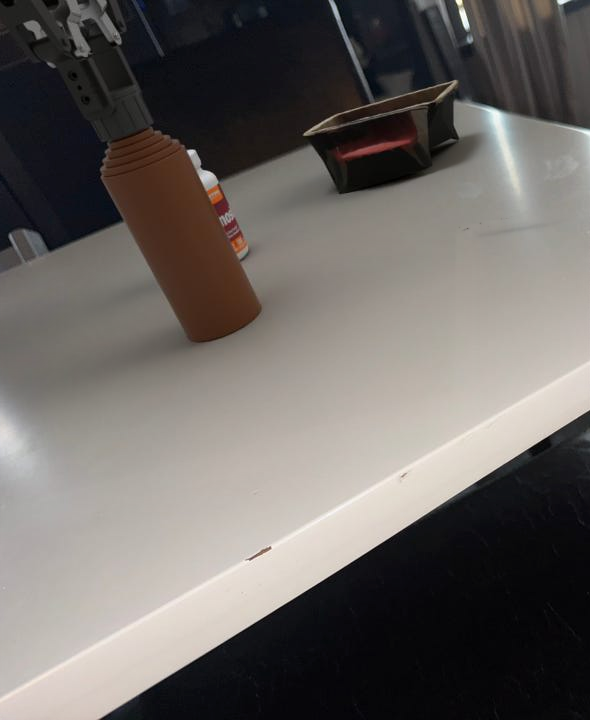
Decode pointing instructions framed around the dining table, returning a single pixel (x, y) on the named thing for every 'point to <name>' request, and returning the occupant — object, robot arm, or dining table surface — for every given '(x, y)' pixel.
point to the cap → (124, 115)
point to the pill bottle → (221, 206)
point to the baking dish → (385, 137)
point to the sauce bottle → (179, 233)
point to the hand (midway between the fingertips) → (116, 108)
